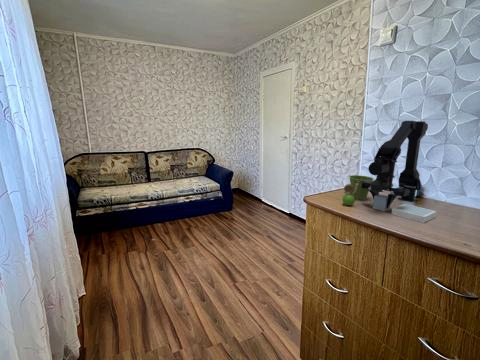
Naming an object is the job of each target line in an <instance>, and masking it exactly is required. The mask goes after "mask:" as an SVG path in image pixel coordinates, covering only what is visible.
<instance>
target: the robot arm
mask: <svg viewBox="0 0 480 360" xmlns="http://www.w3.org/2000/svg"><path fill="white" fill-rule="evenodd" d="M428 129H429V126H428V123H426V121H424V120H423V121H422V120H421V121H420V120H418V121H416V120H402V121H401V124H400V127H399V128H398V129H397V130H396V132H395V133H394V135H393V136H392V137H391V138H390V140H386V141H384V142H383V144H382V145H381V146H380V147H379V148H378V149H377V150H378V151H377V152H376V154H375V156H374V159H373V161H372V162H371V163H370V164H369V165H368V168H367V169H368V173H370V174H371V175H372V176H375V177H376V178H375V179H374V180H373V181H365V182H362V184H361V188H365V189H367V188H368V189H367V190H368V191H369V192H370V194H371V196H372V199H373V201H374V196H376V195H379V194H380V193H382V192H383V191H386V192H390V193H388V194H387V196H388V201H387V208H389V206H390V207H391V204H392V203H393V202H394V201H395V199H396V198H397V197H398V199H399V200H403V201H407V202H416V201H418V198H415V197H416V191H420V190H421V189H422V186H423V185H422V181H421V179H420V173H419V170H418V168H417V166H418V159H419V152H420V145H421V140H422V139H423V137H424V136H425V135H426V133H427V131H428ZM406 139H407V140H408V141H407V148H406V149H407V150H406V157H405V163H404V164H405V165H404V169H403V170H402V171H401V172H400V173H399V178H398V187H394V184H393V179H395V176H396V175H394V173H395V167H396V163H398V161H397V159H398V158H399V156H400V155H401V153H402V148H401V146H402V145H403V144H404V142H405V141H406ZM389 209H390V208H389Z"/></svg>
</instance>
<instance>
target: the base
mask: <svg viewBox="0 0 480 360" xmlns="http://www.w3.org/2000/svg"><path fill="white" fill-rule="evenodd" d="M391 215H394V216H399V217H402V218H406V219H409V220H413V221H416V222H420V223H422V224H425V223H426V222H429V221H430V220H432V219H435V218H436V216H437V211H436V210H431V209H430V208H429V209H428V208H424V207H420V206H417V205H412V204H408V203H404V204H401V205H398V206H395V207H392V210H391Z"/></svg>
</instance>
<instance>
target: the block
mask: <svg viewBox="0 0 480 360" xmlns="http://www.w3.org/2000/svg"><path fill="white" fill-rule="evenodd" d="M387 201H388V195H385V194H380V193H379V195H376V196H374V200H373V202H372V203H373V205H372V209H374V210H377V211H378V210H379V211H381V212H385V211H389V210H390V209H391V208H390V207H391V205H390V206H389V208H387Z"/></svg>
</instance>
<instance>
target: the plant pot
mask: <svg viewBox="0 0 480 360" xmlns="http://www.w3.org/2000/svg"><path fill="white" fill-rule="evenodd" d="M348 178H349V182H350V183H349V184H351V185H353V186H354V189H355V185H356V184H358V181H359V186H358V188H357V191H356V192H355V193H354V194H352V195H353V196H354V198H355V201H356V200H358V201H359V200H362V201H365V200H366V199H367V197H368V194H369V192H370V191H368V190H367V189H368V188H367V189H365V188H361V184H362V182H365V181H374V180H375V178H374V177H371V176H367V175H359V174H356V175H354V174H352V175H348Z"/></svg>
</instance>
